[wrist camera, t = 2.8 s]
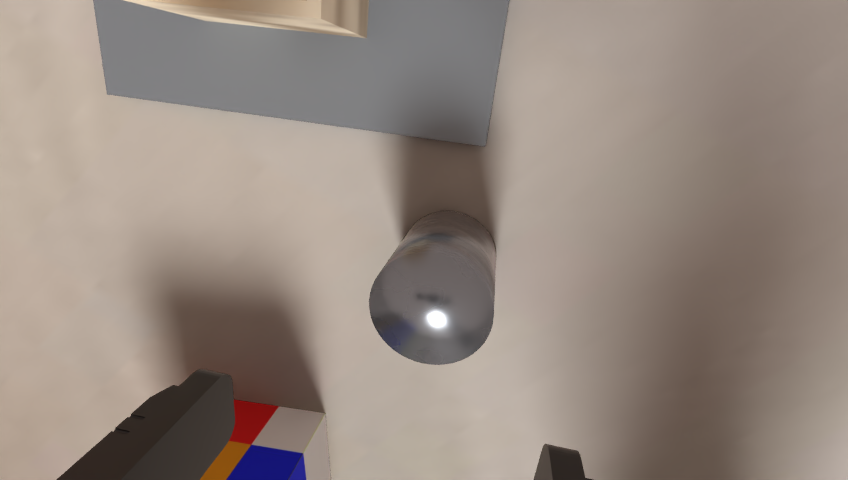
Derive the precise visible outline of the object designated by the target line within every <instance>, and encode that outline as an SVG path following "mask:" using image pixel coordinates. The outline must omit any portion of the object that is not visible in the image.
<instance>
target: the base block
mask: <svg viewBox="0 0 848 480" xmlns="http://www.w3.org/2000/svg"><path fill="white" fill-rule="evenodd" d="M124 1H128V2H132V3H136V4H140V5H144V6H148V7H152V8H156V9H160V10H164V11H168V12H172V13H176V14H180V15H184V16H188V17H192V18H196V19H200V20H204V21H211V22H221V23H230V24H239V25H249V26H258V27H267V28H276V29H286V30H295V31H304V32H314V33H323V34H332V35H341V36H351V37H360V38H367V25H368V8H369V0H307V1H306V0H124Z"/></svg>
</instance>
